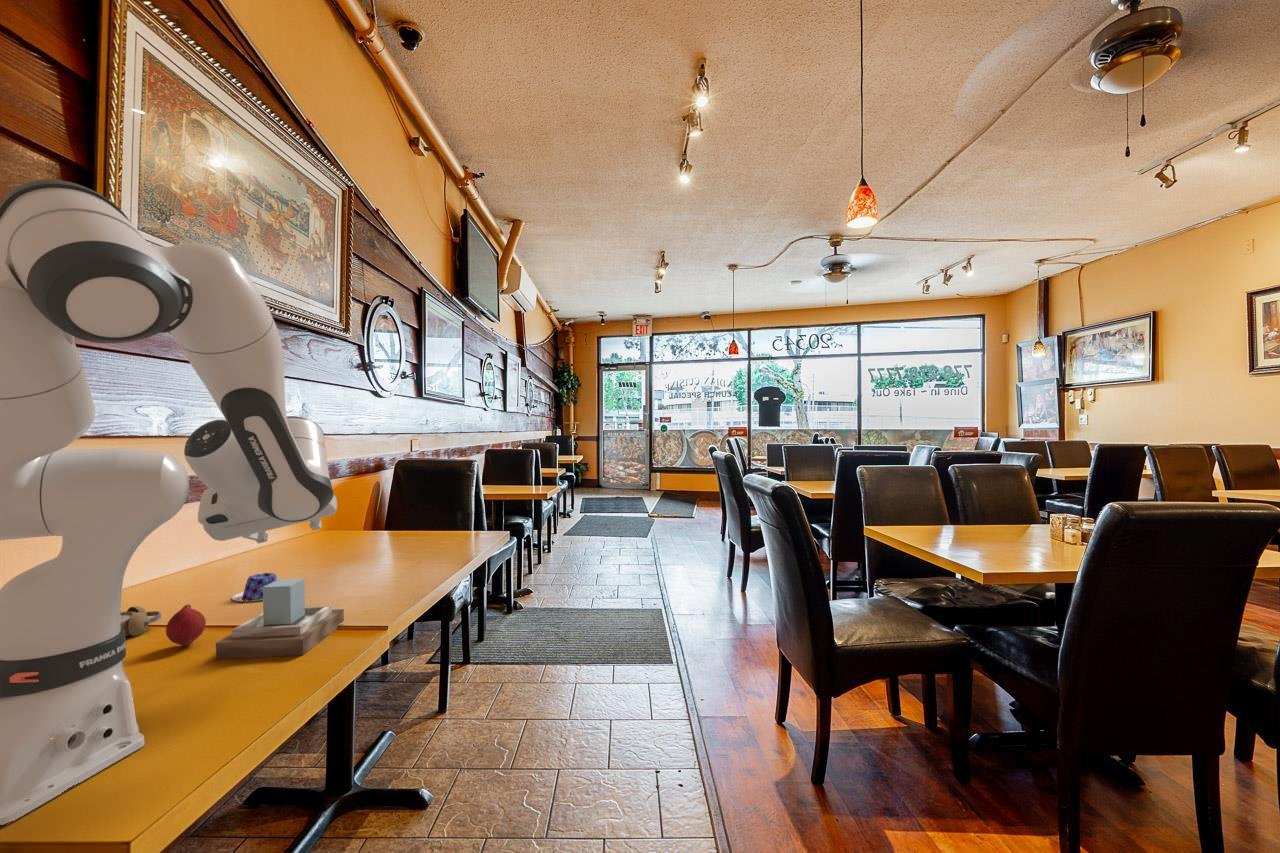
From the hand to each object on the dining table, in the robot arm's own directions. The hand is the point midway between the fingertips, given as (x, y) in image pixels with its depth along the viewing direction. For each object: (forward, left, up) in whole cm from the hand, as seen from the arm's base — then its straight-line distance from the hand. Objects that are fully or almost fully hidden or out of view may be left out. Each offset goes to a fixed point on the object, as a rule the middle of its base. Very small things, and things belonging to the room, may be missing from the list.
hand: (290, 532), depth 104 cm
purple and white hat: (+33, +25, -22) cm, 46 cm away
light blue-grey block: (+2, +2, -18) cm, 18 cm away
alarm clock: (+8, +39, -22) cm, 45 cm away
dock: (+2, +2, -21) cm, 21 cm away
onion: (+1, +20, -21) cm, 29 cm away
